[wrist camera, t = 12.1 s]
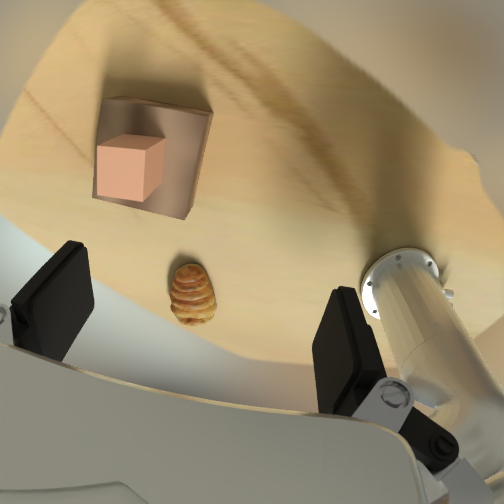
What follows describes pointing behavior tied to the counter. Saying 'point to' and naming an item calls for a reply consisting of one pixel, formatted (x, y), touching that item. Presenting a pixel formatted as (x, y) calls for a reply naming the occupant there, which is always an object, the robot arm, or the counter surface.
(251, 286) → the counter surface
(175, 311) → the pastry
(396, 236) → the counter surface
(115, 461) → the robot arm
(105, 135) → the taupe streaked block
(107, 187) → the terracotta block
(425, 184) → the counter surface
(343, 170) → the counter surface
